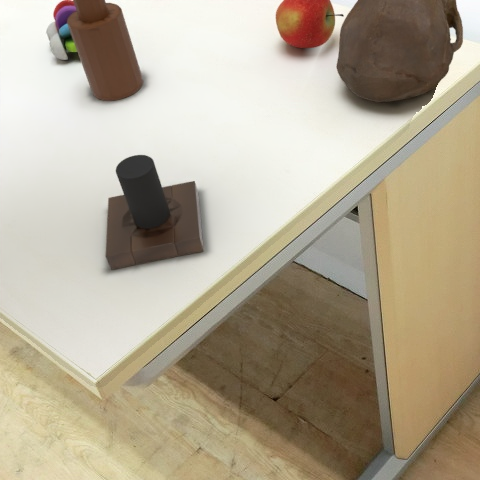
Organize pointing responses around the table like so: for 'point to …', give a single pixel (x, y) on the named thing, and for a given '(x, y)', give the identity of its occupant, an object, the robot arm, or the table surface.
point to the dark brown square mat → (155, 229)
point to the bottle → (105, 49)
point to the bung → (143, 191)
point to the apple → (306, 22)
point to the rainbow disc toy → (61, 30)
